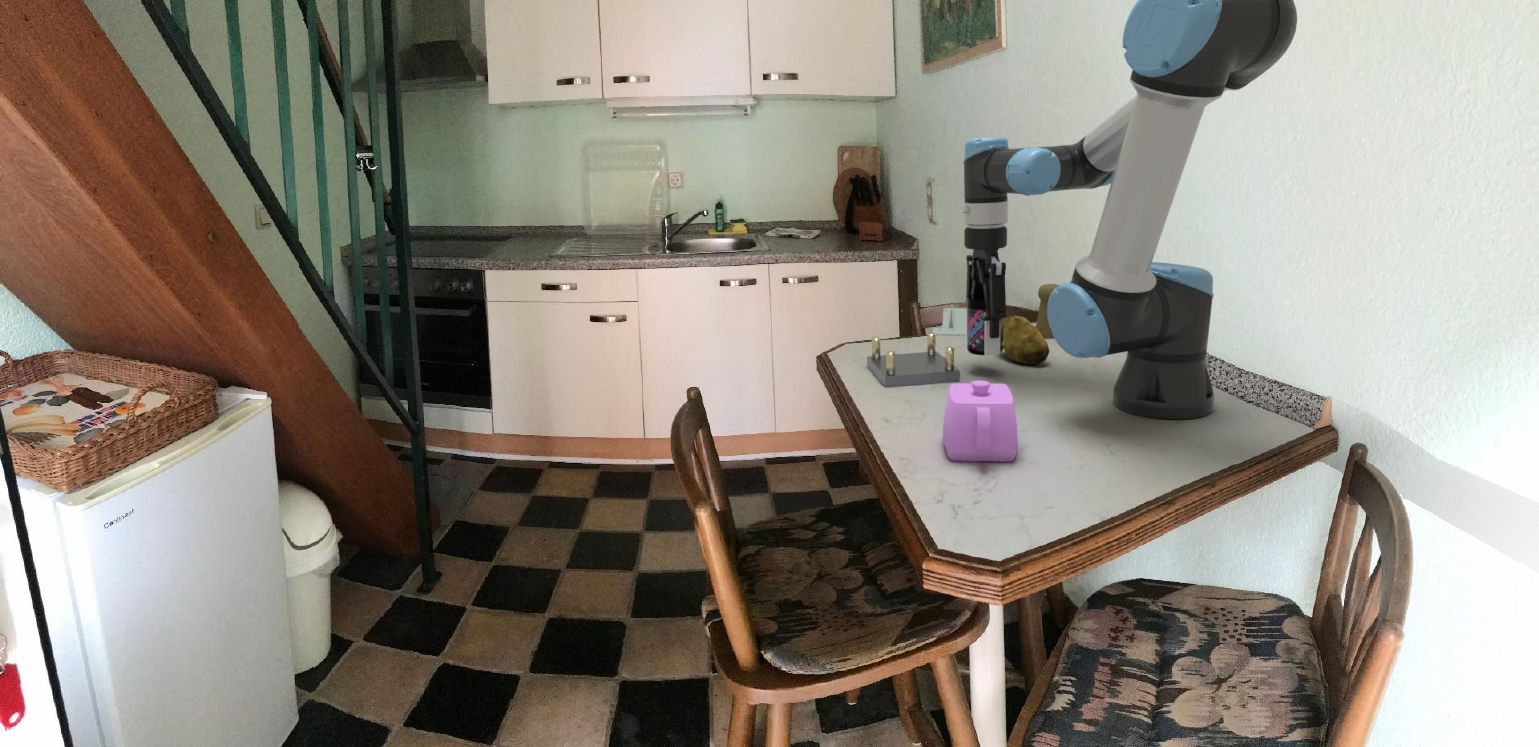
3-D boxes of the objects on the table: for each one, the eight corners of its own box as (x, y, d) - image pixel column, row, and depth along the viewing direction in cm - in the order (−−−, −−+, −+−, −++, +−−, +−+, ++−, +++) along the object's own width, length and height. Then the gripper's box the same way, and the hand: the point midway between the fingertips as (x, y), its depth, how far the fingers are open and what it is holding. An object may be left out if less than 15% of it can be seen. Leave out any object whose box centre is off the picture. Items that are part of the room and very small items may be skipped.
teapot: (940, 426, 141) (941, 364, 138) (1009, 427, 140) (1011, 364, 137) (944, 470, 124) (945, 400, 121) (1022, 472, 123) (1025, 401, 120)
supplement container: (964, 348, 171) (964, 294, 168) (1000, 347, 170) (1000, 292, 167) (969, 356, 164) (969, 300, 161) (1006, 355, 163) (1007, 299, 161)
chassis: (959, 381, 163) (960, 349, 162) (884, 387, 162) (884, 355, 160) (936, 361, 177) (936, 331, 175) (867, 366, 175) (866, 336, 174)
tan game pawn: (1040, 339, 189) (1042, 288, 186) (1030, 332, 195) (1032, 282, 192) (1068, 337, 190) (1071, 286, 187) (1056, 331, 195) (1059, 281, 192)
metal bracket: (935, 299, 206) (1002, 299, 203) (935, 321, 209) (1001, 322, 206) (932, 331, 194) (1003, 331, 191) (932, 353, 197) (1002, 354, 194)
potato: (1007, 369, 169) (1009, 328, 167) (991, 351, 182) (992, 313, 180) (1051, 367, 169) (1053, 326, 167) (1032, 349, 182) (1034, 311, 179)
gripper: (948, 222, 170) (948, 340, 176) (985, 232, 151) (984, 364, 157) (986, 220, 171) (985, 337, 177) (1027, 229, 152) (1025, 360, 158)
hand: (985, 349), depth 167 cm, fingers closed on supplement container, 7 cm apart
